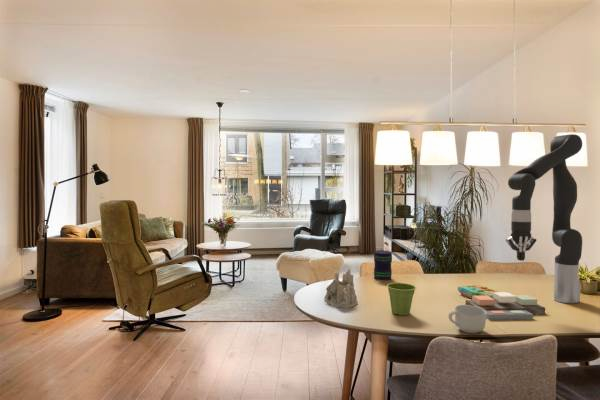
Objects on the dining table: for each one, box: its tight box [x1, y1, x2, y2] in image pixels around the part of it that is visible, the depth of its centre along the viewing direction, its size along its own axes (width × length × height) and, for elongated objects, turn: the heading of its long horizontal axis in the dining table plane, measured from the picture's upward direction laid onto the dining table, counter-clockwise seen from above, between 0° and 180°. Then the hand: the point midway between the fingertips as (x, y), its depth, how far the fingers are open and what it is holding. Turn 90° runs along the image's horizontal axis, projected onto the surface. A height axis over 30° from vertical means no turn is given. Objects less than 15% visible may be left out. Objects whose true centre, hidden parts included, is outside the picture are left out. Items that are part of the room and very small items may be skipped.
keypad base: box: [464, 299, 546, 315], centre depth 177 cm, size 28×12×2 cm, turn 92°
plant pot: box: [386, 282, 417, 316], centre depth 172 cm, size 12×12×11 cm
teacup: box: [448, 304, 487, 334], centre depth 152 cm, size 14×11×8 cm
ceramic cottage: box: [323, 268, 358, 309], centre depth 188 cm, size 16×16×15 cm
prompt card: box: [486, 310, 534, 321], centre depth 167 cm, size 18×5×2 cm, turn 92°
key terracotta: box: [471, 295, 495, 306], centre depth 177 cm, size 6×6×2 cm
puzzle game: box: [457, 284, 499, 300], centre depth 194 cm, size 12×5×20 cm
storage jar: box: [373, 250, 393, 281], centre depth 234 cm, size 10×10×15 cm
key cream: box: [493, 291, 516, 302], centre depth 177 cm, size 6×6×2 cm
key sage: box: [513, 294, 538, 305], centre depth 177 cm, size 6×6×2 cm
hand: (520, 260), depth 180 cm, fingers closed
